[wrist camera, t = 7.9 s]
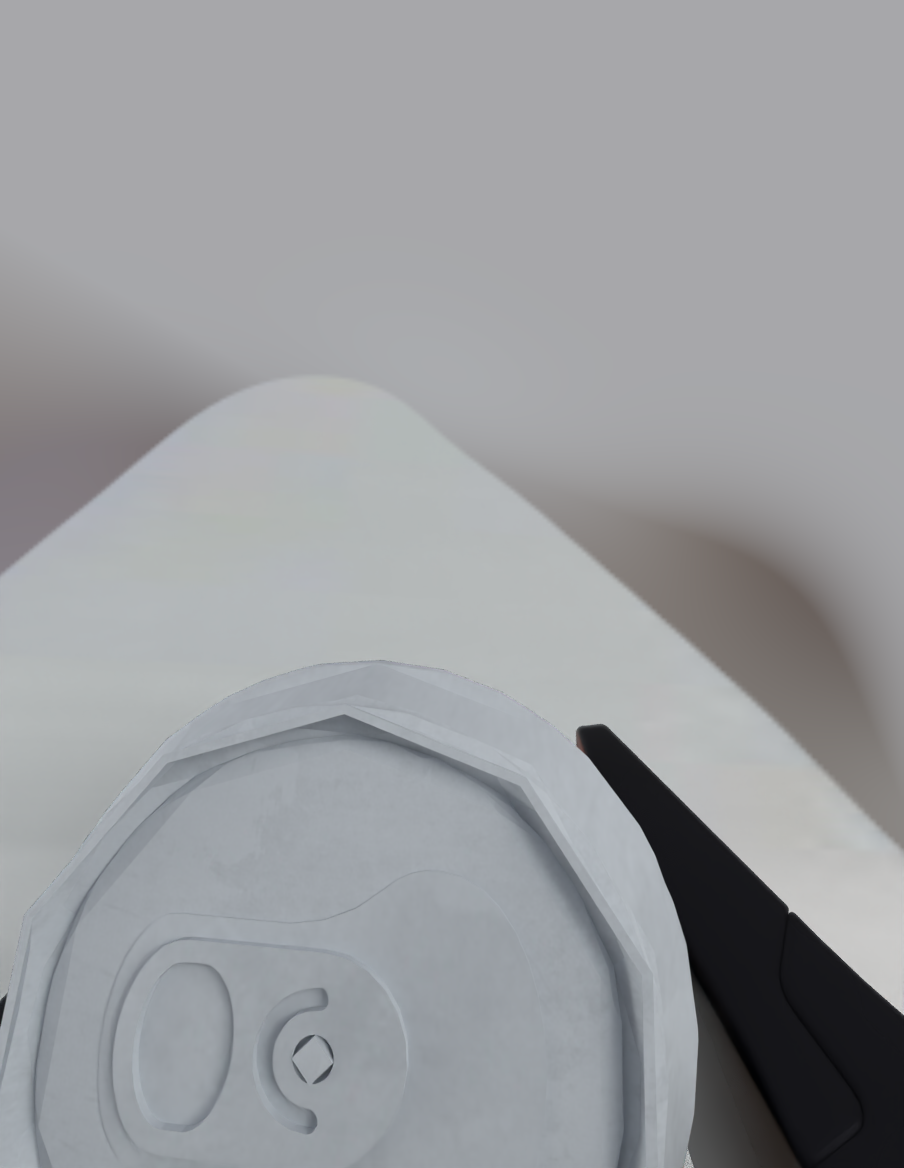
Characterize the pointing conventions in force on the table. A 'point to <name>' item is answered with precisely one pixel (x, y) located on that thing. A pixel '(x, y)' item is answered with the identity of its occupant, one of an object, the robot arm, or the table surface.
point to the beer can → (355, 949)
